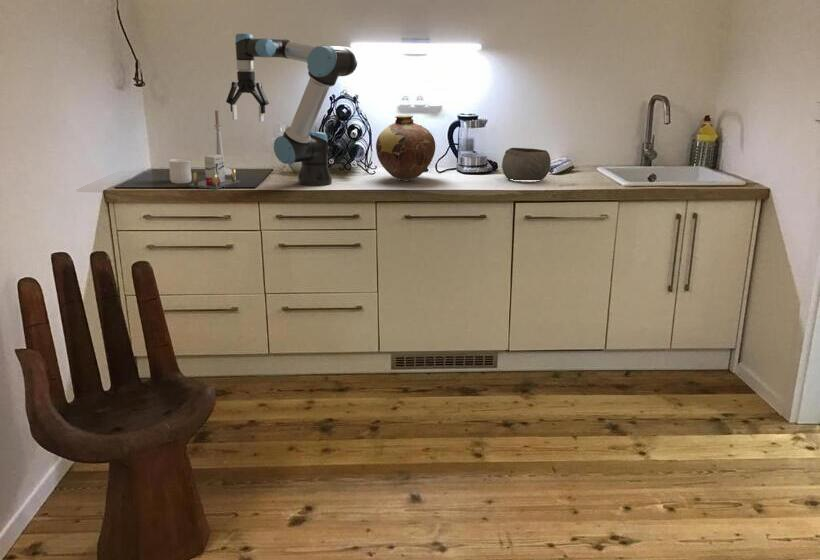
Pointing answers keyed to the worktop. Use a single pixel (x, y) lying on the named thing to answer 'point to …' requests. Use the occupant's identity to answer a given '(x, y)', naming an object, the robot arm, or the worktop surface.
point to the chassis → (214, 182)
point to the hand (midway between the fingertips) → (248, 120)
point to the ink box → (214, 168)
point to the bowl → (526, 164)
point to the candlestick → (219, 141)
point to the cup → (180, 170)
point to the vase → (405, 148)
